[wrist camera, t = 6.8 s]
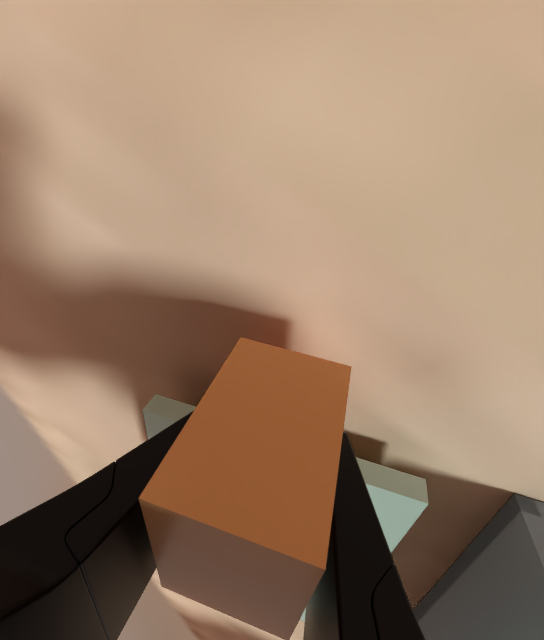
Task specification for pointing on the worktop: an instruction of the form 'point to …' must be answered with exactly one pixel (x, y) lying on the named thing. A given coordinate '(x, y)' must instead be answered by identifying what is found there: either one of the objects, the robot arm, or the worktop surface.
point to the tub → (493, 582)
